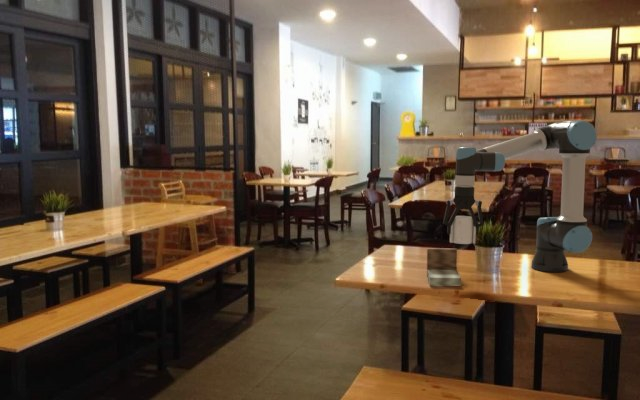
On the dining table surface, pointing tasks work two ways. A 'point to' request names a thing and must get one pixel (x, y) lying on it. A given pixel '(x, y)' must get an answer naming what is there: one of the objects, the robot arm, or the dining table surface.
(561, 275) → the dining table surface
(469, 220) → the mug
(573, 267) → the dining table surface
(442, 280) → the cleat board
